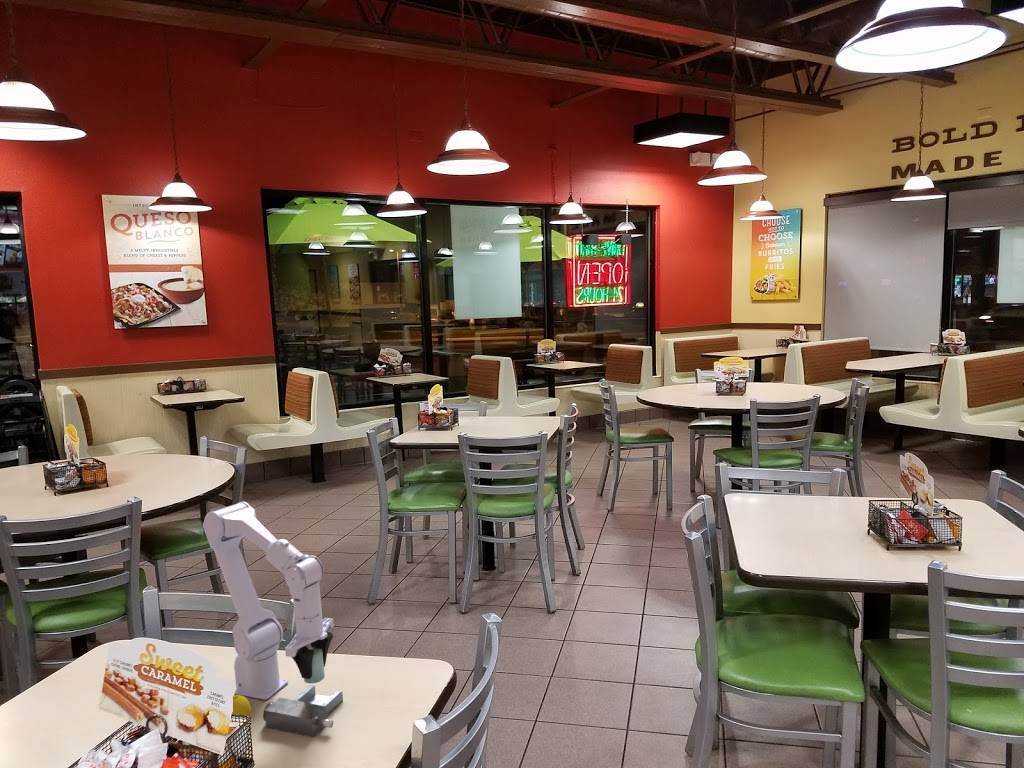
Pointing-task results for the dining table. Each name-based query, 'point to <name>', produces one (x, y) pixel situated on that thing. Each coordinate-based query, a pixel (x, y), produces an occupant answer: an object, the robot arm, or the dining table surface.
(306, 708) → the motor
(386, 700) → the dining table surface
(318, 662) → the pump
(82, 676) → the dining table surface
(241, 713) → the lemon
